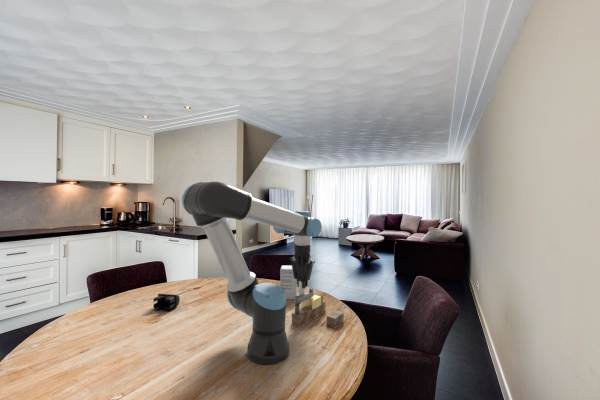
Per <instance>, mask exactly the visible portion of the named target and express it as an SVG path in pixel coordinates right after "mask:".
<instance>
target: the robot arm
mask: <svg viewBox="0 0 600 400" xmlns="http://www.w3.org/2000/svg"><path fill="white" fill-rule="evenodd" d="M181 203H182V207H183V209H184V211H186V213H188V214H189V215H191V216H192V218H193V220H194V222H195V224H196V226H197V227H198V228H201V229H203V230H204V233H205V235H206V237H207V239H208V242H209V243H210V246H211V248H212V250H213V251H214V254H215V256H216V258H217V260H218V263H219V264H220V267H221V269H222V271H223V273H224V275H225V278H226V279H227V283H226V289H227V292H226V297H227V301H228V303H229V304H230V305H231V306H232V307H233V308H234V309H235V310H237V311H240V312H242V313H243V314H245V315H247V316H249V317H251V318H252V332H251V335H250V338H249V341H248V344H247V347H246V352H247V353H246V356H247V358H248V359H249V361H251V362H253V363H256V364H258V363H259V365H274V364H273V363H275V364H278V362H279V363H280V361H281V362H283V361H285V360H286V359H287V358H288V357H289V356H290V350H291V349H290V342H289V341H288V337H287V333H286V313H287V312H286V307H287V299H286V296H285V290H284V289H283V288H282V287H281V286H280V284H277V283H271V282H259V280H258V278H257V276H256V274H255V272H253V271H250V270H249V268H248V265H247V262H246V261H245V259H244V255H243V253H242V251H241V249H240V247H239V245H238V244H239V243H238V242H237V240H236V237H235V235H234V233H233V231H232V228H231V226H230V224H229V221H228V219H233V220H236V221H237V220H238V221H242V220H245V219H246V220H249V221H253V222H256V223H260V224H262V225H267V226H269V227H272V228H273V230H274V232H275V233H277V234H292V235H294V238H293V239H294V240H293V242H294V246H293V251H294V253H293V256H292V257H289V261H290V263H291V264H290V265H291V266H292V269H293V275H294V279H297V288H298V292H297V296H300V295H302V294H304V293H305V289H306V288H307V282H308V281H310V279H311V275H312V272H313V271H312V270H313V267H314V265H315V263H316V261H315V260H313V259H312V258H311V238H312V237H313V238H315V237H318V236H319V235H320V234H321V232H322V227H323V226H322V223H321V220H320V219H319V218H315V217H313V216H312V213H311V212H310V211H308V210H296V211H295V212H294V211H291V210H290V209H286V208H283V207H281V206H278V205H275V204H272V203H269V202H267V201H264V200H261V199H258V198H255V197H253V196H252V194H251V193H250V192H247V191H245V190H243V189H241V188H240V189H239V188H238V187H236V186H233V185H230V184H227V183H225V182H222V181H221V182H220V181H209V182H208V181H206V182H205V181H203V182H202V181H201V182H197V183H196V182H195V183H194V184H193V183H192V184H191V185H190V186H188V187H187V188H186V189H185V190H184V191H183V194H182V198H181ZM288 355H289V356H288ZM284 359H285V360H284Z"/></svg>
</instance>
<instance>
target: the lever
mask: <svg viewBox="0 0 600 400" xmlns="http://www.w3.org/2000/svg"><path fill="white" fill-rule="evenodd" d="M314 292H315V291H314V288H311V287H310V288H309V290H308V291H307V292H304V294H302V295H300V296H299V295H297V296H294V300H293V304H294V305H295V304H301V302H303V301H305V300H307V299H309V298H311V297H313V296H314V295H315V293H314Z"/></svg>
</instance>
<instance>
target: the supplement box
mask: <svg viewBox="0 0 600 400" xmlns="http://www.w3.org/2000/svg"><path fill="white" fill-rule="evenodd" d="M279 272H280V273H279V276H280V277H279V278H280V280H279V281H280V282H279V286H281V287H282V288H283V289H284V290H285V296H286V300H292V299H294V296H298V291H297V290H298V289H297V288H298V287H297V279H294V275H293V269H292V265H287V264H286V265H281V267H280V271H279Z"/></svg>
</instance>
